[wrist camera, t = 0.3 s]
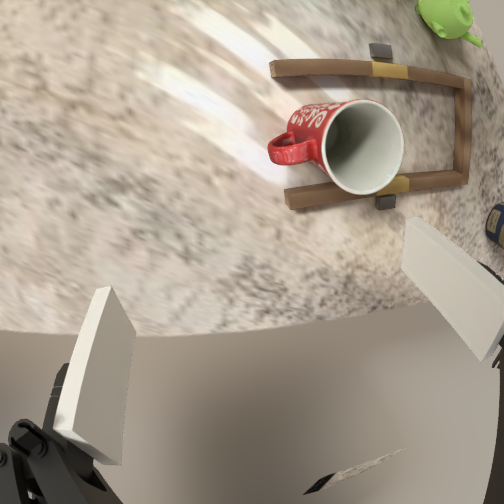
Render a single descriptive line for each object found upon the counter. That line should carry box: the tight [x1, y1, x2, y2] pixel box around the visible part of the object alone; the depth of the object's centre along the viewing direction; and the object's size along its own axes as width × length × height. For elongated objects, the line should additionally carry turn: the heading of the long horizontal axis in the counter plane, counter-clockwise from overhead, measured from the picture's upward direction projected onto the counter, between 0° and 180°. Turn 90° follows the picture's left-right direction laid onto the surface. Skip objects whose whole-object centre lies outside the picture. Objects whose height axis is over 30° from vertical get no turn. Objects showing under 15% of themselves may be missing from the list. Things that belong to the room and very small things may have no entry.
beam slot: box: [269, 43, 472, 210], centre depth 35 cm, size 25×34×2 cm
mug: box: [268, 99, 404, 195], centre depth 29 cm, size 13×9×14 cm
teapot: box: [415, 0, 483, 48], centre depth 23 cm, size 11×12×8 cm
